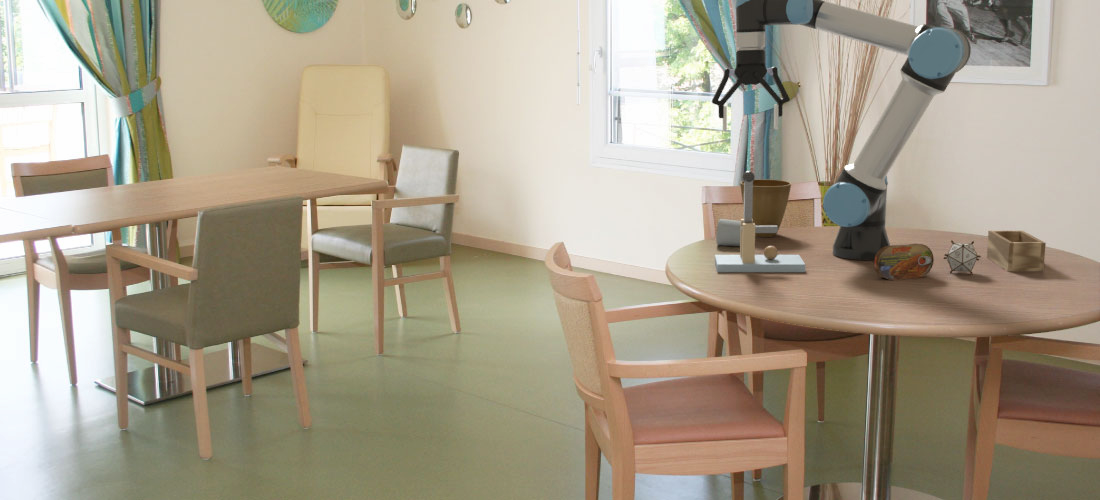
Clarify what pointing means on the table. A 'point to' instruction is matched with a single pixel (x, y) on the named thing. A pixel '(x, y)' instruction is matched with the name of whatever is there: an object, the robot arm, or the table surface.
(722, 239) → the ceramic mug
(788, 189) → the plant pot
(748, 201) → the lever
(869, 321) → the table surface
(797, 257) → the base
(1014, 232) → the box
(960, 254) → the game die
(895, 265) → the tin
